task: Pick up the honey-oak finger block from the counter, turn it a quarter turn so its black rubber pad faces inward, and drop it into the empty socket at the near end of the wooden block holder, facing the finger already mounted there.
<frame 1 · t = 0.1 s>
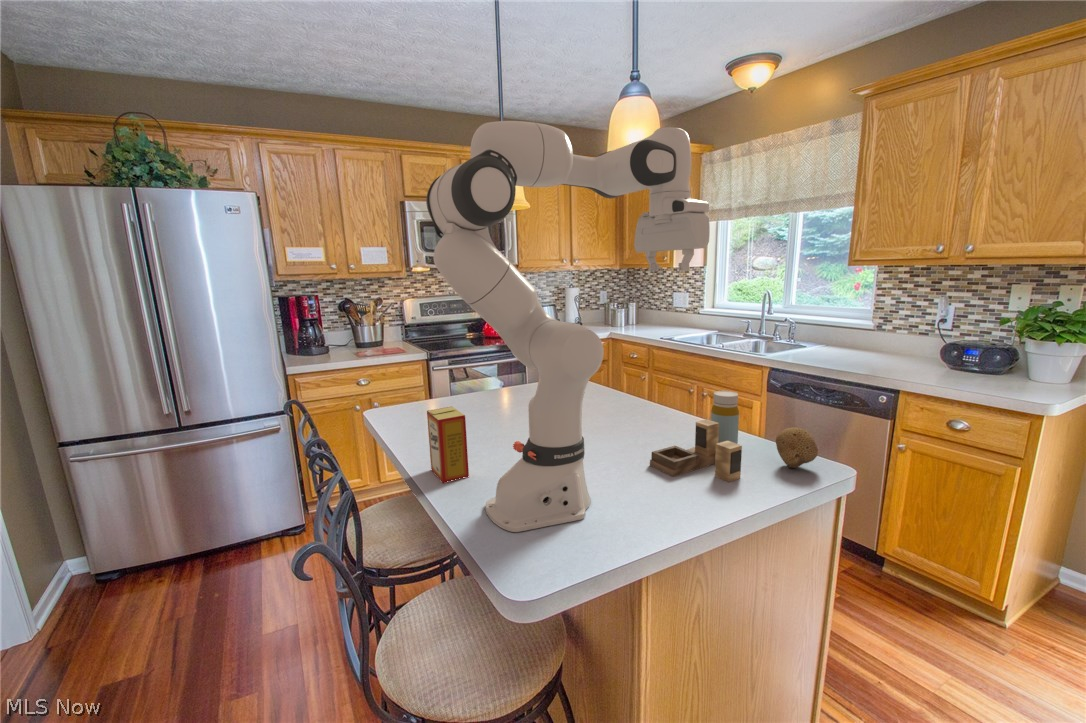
hand: (668, 271, 110), 48 cm above the counter, tool pointing down, fingers open, 8 cm apart
bottle: (723, 447, 133), on the counter
finger block: (727, 477, 114), on the counter
baking soda box: (449, 474, 121), on the counter
wooden block holder: (689, 462, 123), on the counter
natural sponge: (795, 468, 118), on the counter
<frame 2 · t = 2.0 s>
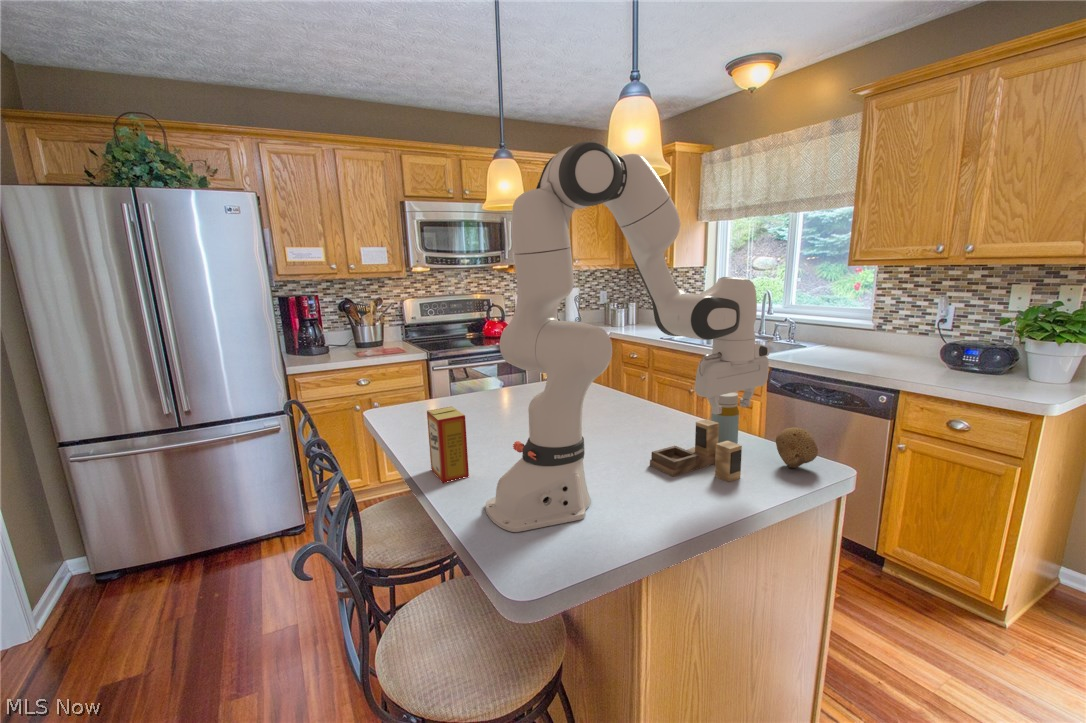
hand: (730, 410, 111), 16 cm above the counter, tool pointing down, fingers open, 8 cm apart
nothing on the counter moved.
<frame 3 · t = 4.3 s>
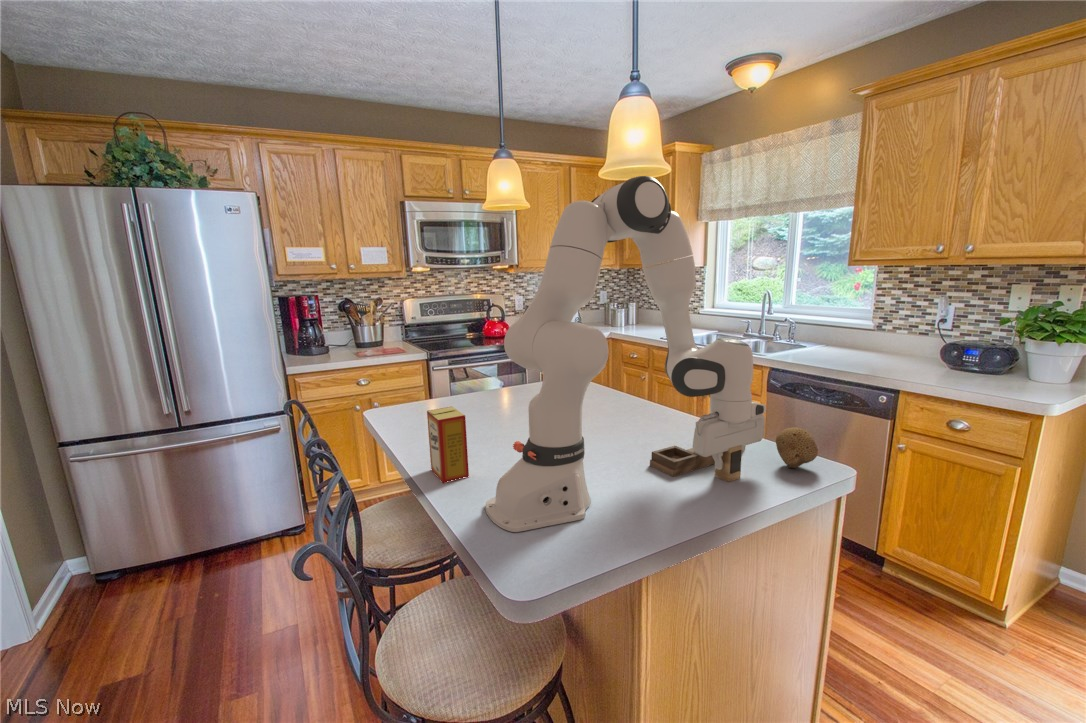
hand: (727, 465, 114), 3 cm above the counter, tool pointing down, fingers closed on finger block, 4 cm apart
finger block: (727, 476, 114), on the counter, touching gripper
everything else where it was.
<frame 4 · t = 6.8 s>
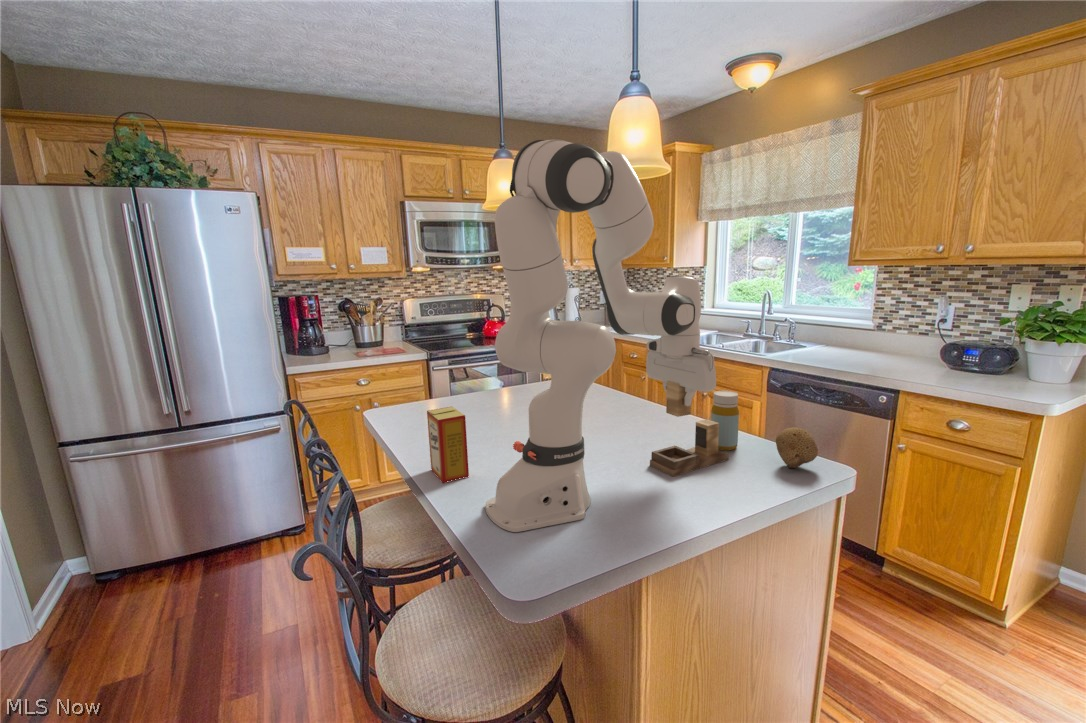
hand: (678, 402, 117), 17 cm above the counter, tool pointing down, fingers closed on finger block, 4 cm apart
finger block: (678, 413, 117), point 14 cm above the counter, touching gripper
everything else where it was.
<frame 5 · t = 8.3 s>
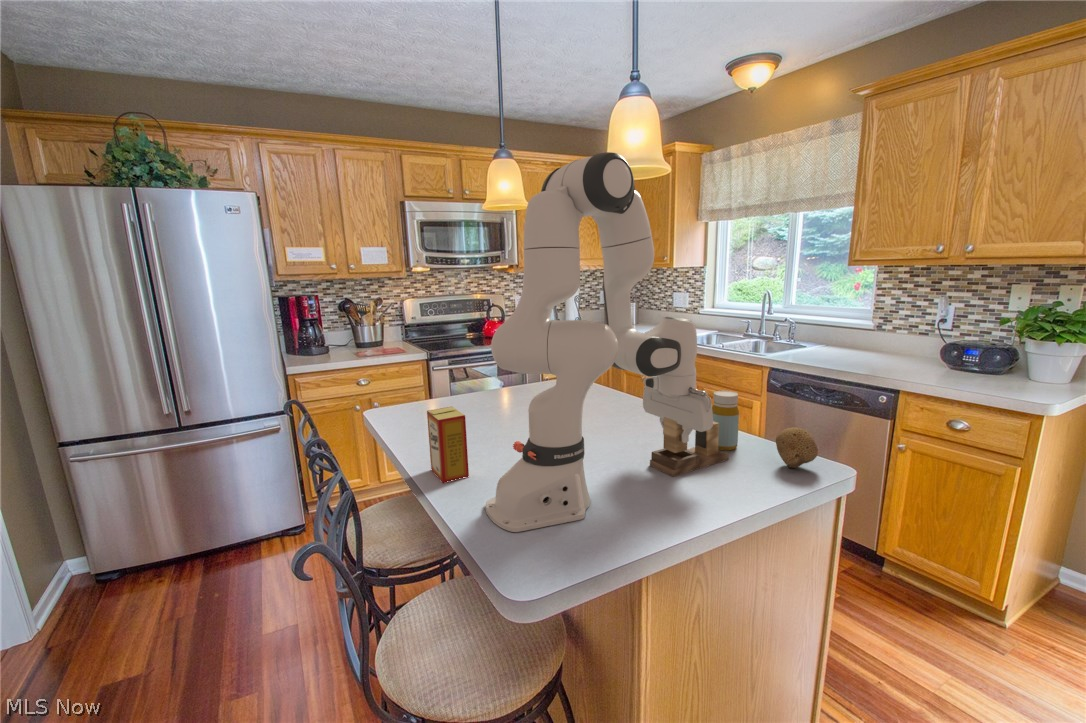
hand: (675, 438, 120), 7 cm above the counter, tool pointing down, fingers closed on finger block, 4 cm apart
finger block: (675, 448, 120), point 5 cm above the counter, touching gripper
everything else where it was.
when the fingers open (5 cm above the counter, at t = 9.4 s): finger block stays where it is, resting on wooden block holder.
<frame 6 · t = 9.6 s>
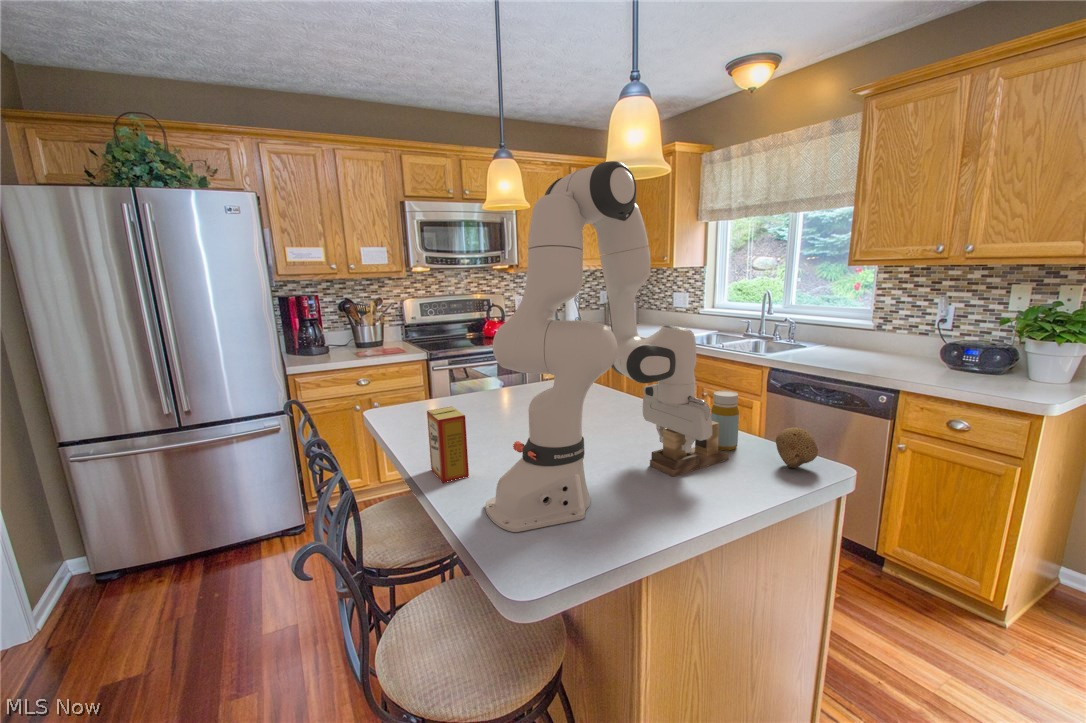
hand: (674, 447, 120), 5 cm above the counter, tool pointing down, fingers open, 6 cm apart
finger block: (674, 461, 120), point 1 cm above the counter, touching wooden block holder
everything else where it was.
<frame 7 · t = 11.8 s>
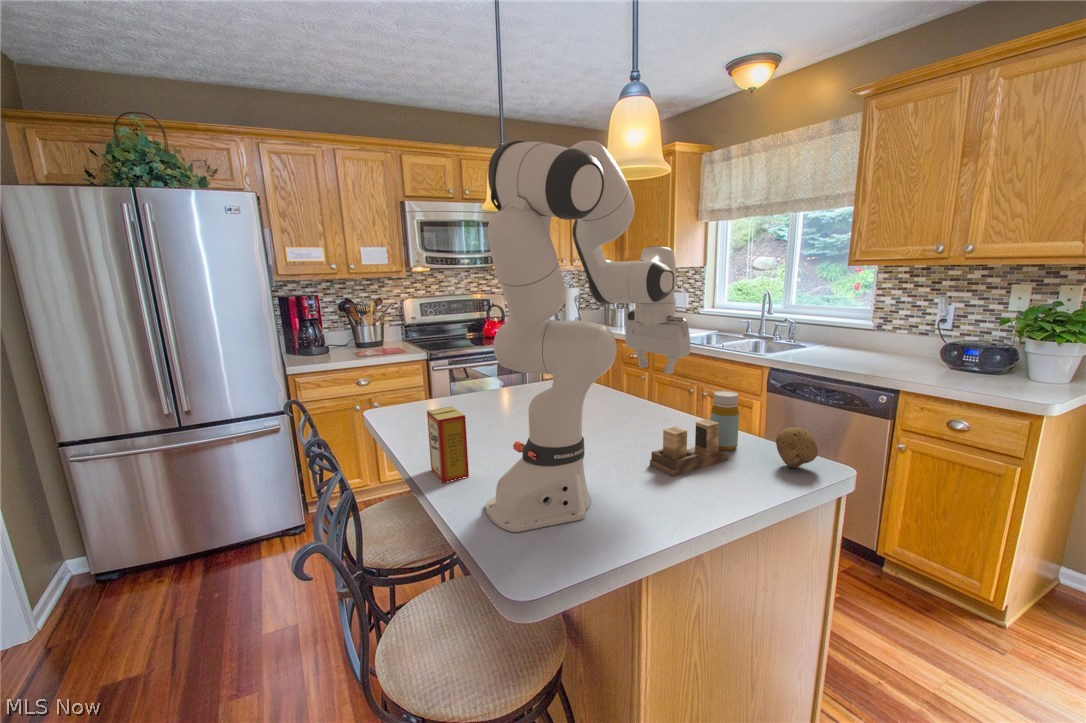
hand: (655, 370, 121), 24 cm above the counter, tool pointing down, fingers open, 8 cm apart
nothing on the counter moved.
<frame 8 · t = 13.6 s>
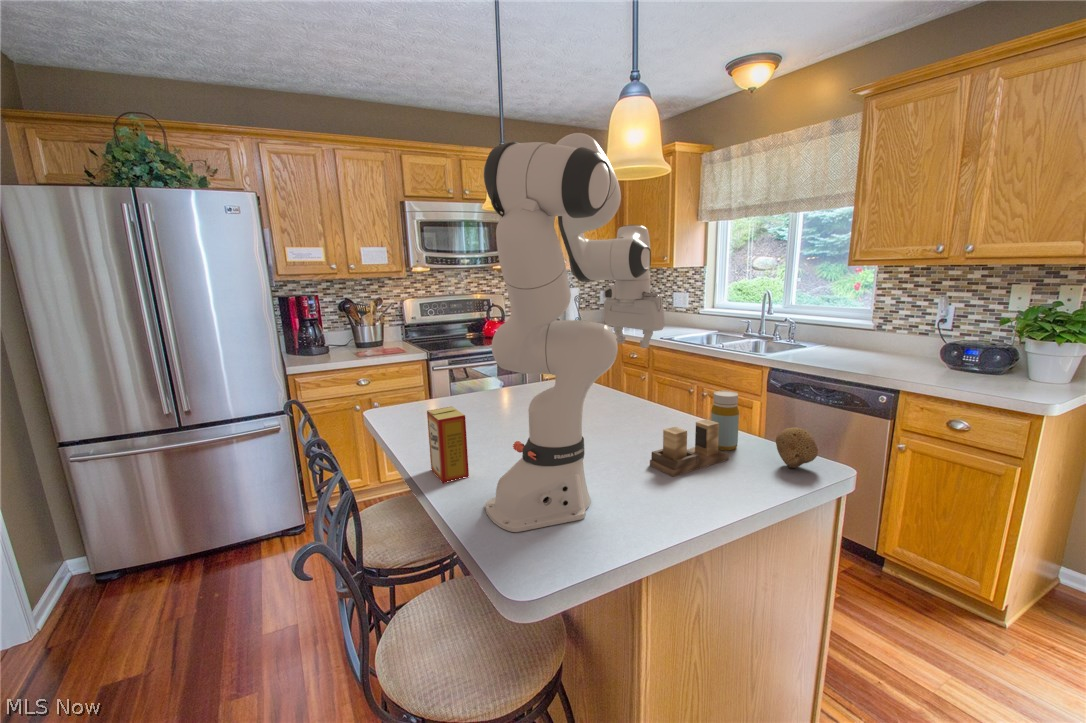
hand: (632, 345, 126), 29 cm above the counter, tool pointing down, fingers open, 8 cm apart
nothing on the counter moved.
at the end: finger block 0.0 cm from the target spot on the wooden block holder, point 1.5 cm above the wooden block holder's base; finger block tilted 0°; the gripper is holding nothing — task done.
